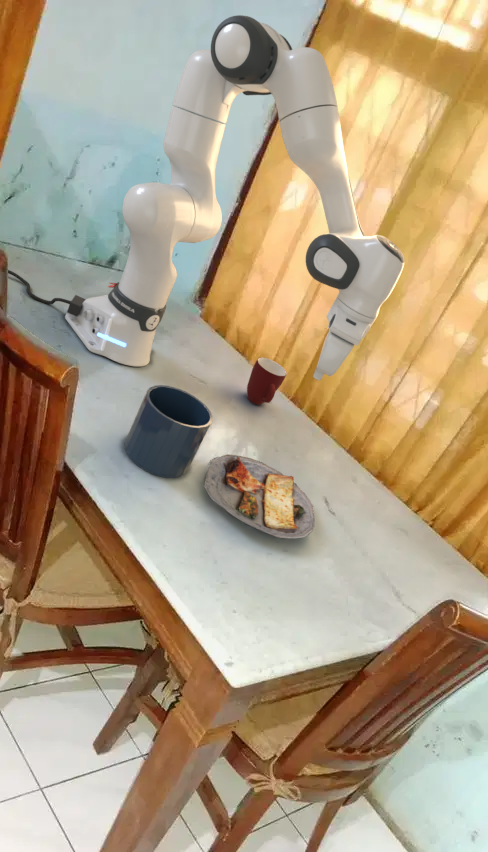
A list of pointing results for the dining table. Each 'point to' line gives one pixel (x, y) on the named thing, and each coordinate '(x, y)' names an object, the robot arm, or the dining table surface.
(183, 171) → the robot arm
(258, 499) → the food plate
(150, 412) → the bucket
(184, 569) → the dining table surface
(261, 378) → the mug
